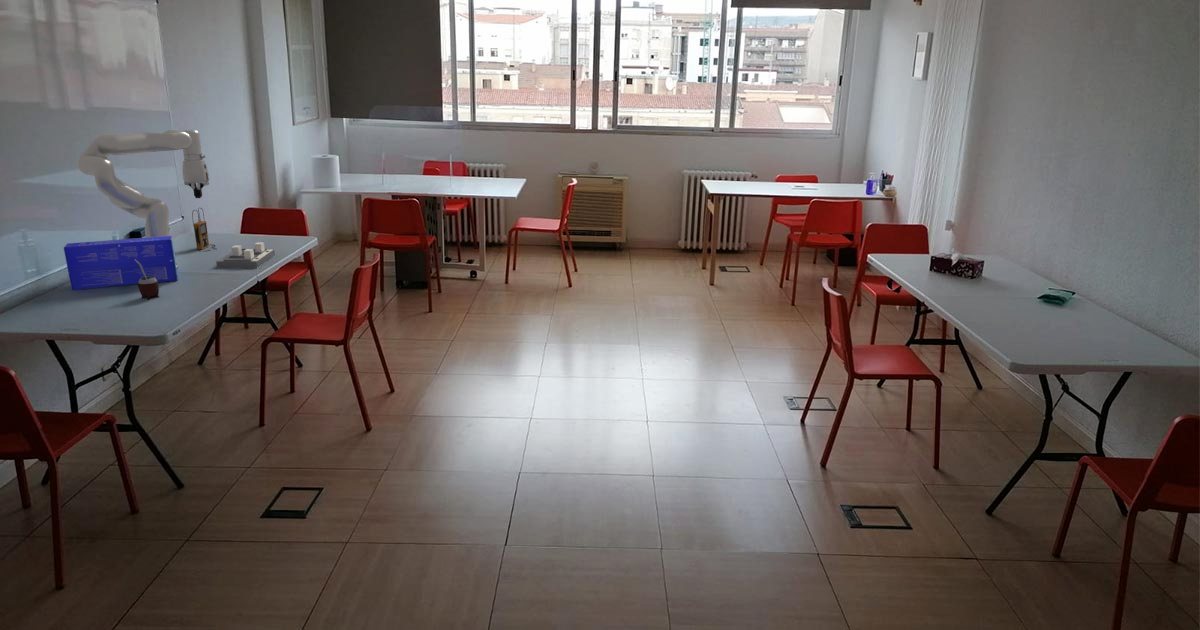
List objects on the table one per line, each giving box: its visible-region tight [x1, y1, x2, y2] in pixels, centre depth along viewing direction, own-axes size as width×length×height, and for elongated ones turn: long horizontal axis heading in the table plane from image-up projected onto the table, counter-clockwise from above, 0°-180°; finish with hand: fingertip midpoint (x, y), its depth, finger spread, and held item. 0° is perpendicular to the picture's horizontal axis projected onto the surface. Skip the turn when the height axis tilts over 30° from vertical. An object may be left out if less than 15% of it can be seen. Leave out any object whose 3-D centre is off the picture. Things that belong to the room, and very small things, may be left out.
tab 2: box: [254, 241, 266, 252], centre depth 386 cm, size 4×3×4 cm
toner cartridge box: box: [63, 235, 179, 291], centre depth 339 cm, size 39×8×18 cm, turn 115°
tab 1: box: [244, 248, 254, 259], centre depth 372 cm, size 4×3×4 cm
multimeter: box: [191, 207, 218, 252], centre depth 401 cm, size 15×10×20 cm
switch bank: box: [215, 247, 276, 269], centre depth 380 cm, size 24×18×4 cm
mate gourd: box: [135, 259, 160, 301], centre depth 321 cm, size 8×8×15 cm
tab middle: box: [230, 244, 243, 255], centre depth 379 cm, size 4×3×4 cm
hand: (198, 197), depth 374 cm, fingers closed
